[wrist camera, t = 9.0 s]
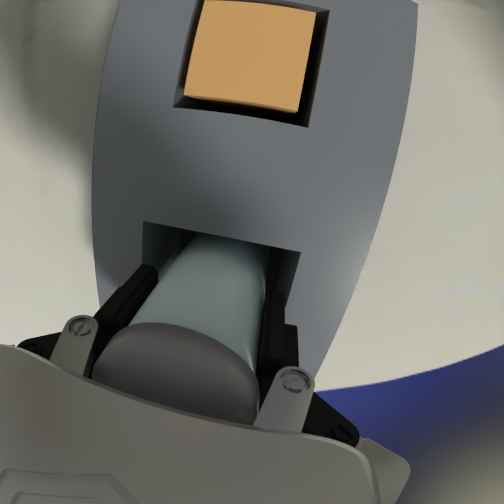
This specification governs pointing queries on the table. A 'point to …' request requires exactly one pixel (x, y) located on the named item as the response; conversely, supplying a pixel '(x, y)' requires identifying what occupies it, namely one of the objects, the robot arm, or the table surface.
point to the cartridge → (196, 333)
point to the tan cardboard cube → (250, 56)
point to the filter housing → (252, 154)
